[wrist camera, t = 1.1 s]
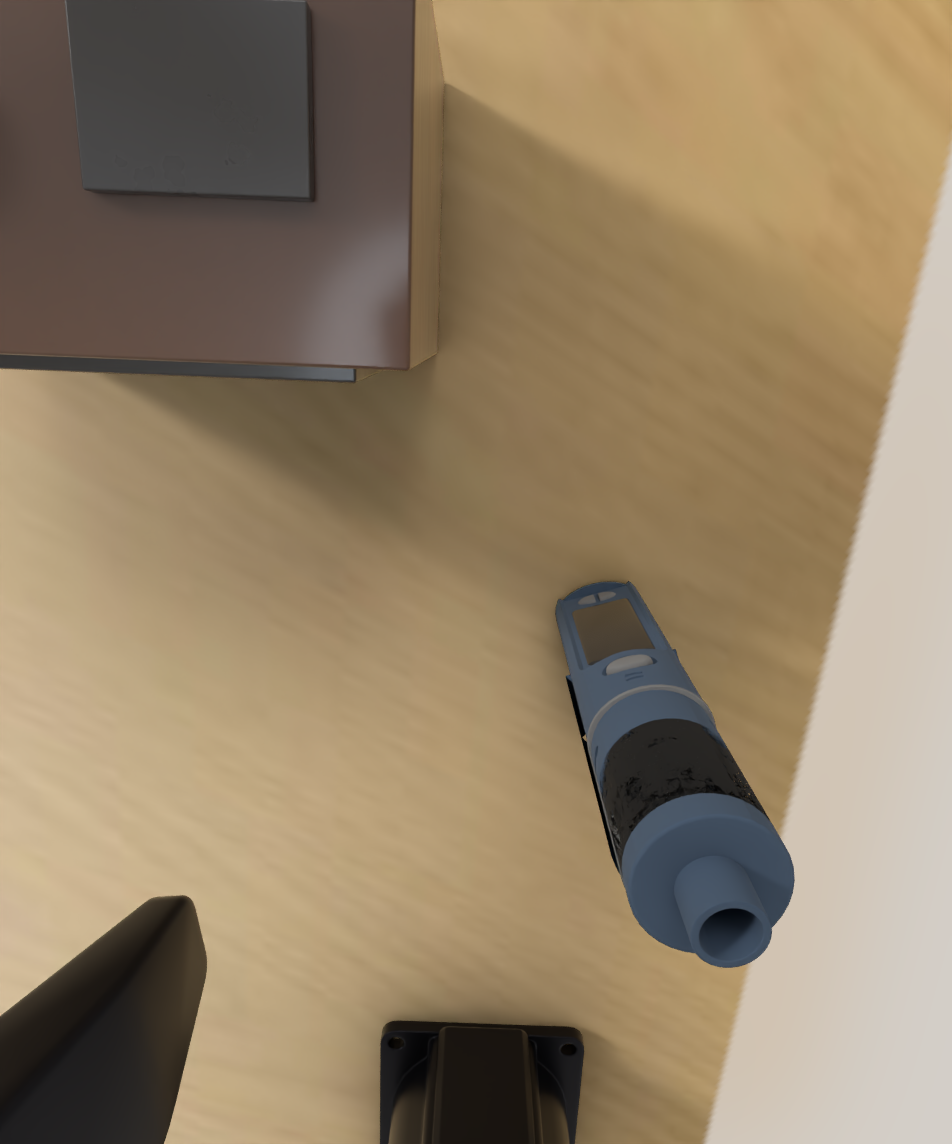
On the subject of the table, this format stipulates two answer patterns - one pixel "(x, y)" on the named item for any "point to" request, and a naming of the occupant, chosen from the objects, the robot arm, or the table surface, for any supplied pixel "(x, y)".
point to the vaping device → (669, 786)
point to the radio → (220, 187)
